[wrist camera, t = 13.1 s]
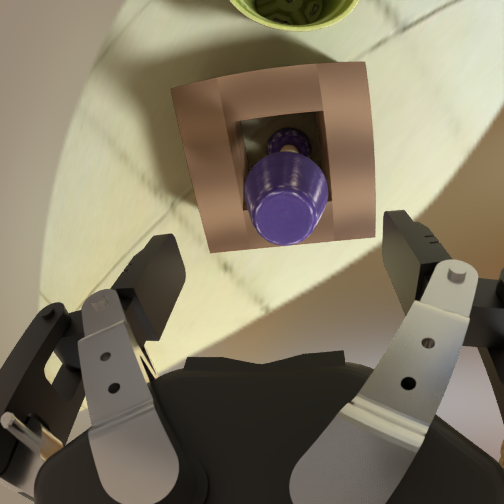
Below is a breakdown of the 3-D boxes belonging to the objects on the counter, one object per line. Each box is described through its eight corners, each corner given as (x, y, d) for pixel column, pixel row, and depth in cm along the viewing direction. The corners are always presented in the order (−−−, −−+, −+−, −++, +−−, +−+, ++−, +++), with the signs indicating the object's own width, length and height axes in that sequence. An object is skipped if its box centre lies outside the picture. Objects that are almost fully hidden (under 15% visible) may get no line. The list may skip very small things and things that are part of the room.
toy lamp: (259, 167, 29) (233, 259, 15) (262, 120, 27) (236, 165, 12) (308, 172, 29) (331, 269, 15) (314, 126, 26) (350, 178, 12)
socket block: (196, 87, 25) (170, 88, 19) (346, 66, 23) (365, 61, 17) (224, 218, 32) (210, 253, 26) (358, 205, 30) (375, 237, 24)
